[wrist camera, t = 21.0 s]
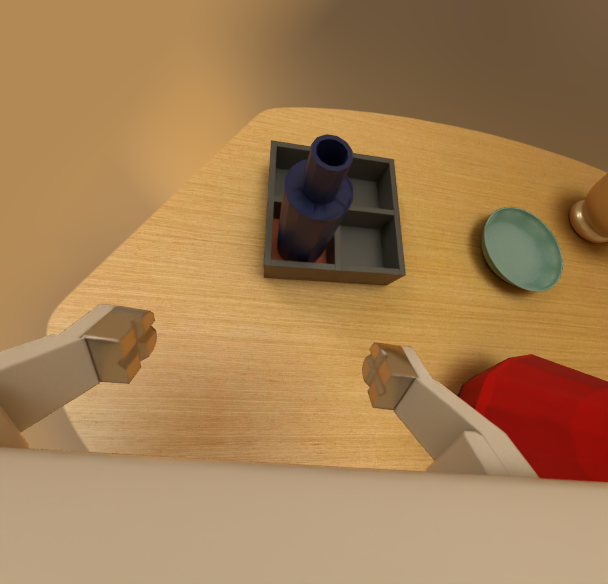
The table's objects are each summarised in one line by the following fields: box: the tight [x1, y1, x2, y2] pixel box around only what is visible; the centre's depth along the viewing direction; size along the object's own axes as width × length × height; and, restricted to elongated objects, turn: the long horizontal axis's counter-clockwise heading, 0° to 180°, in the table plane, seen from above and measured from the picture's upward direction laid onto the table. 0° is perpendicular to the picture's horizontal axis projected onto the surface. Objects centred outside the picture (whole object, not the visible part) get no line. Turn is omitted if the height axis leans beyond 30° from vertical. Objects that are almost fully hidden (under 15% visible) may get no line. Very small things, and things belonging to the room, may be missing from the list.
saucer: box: [482, 207, 563, 292], centre depth 38 cm, size 15×15×3 cm
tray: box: [264, 140, 406, 285], centre depth 33 cm, size 18×18×5 cm
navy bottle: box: [277, 135, 354, 263], centre depth 25 cm, size 6×6×16 cm
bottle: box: [458, 354, 608, 482], centre depth 23 cm, size 16×14×20 cm
